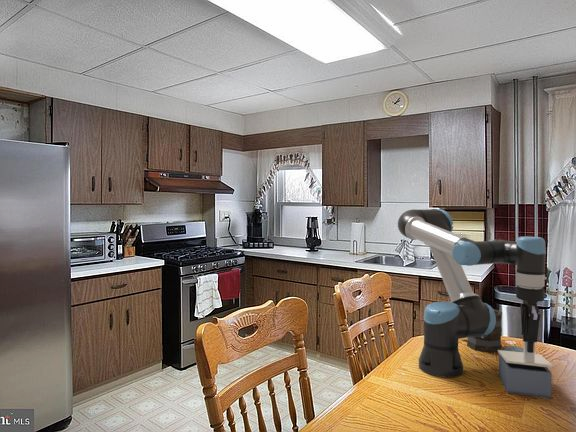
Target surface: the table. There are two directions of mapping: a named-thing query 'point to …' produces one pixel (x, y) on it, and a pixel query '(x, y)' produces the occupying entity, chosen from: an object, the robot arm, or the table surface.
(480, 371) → the table surface
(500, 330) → the mug
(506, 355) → the lid
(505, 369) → the box
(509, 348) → the packaged food
